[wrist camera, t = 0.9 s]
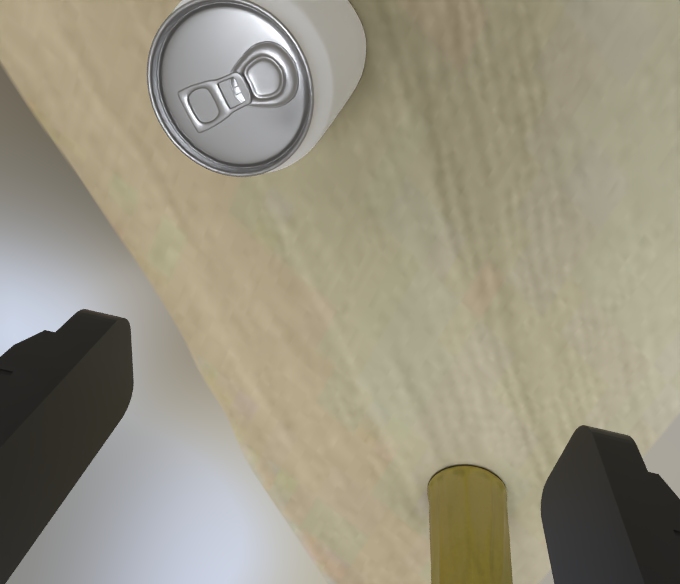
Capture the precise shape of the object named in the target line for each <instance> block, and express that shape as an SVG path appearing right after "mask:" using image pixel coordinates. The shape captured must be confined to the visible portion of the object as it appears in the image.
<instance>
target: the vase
mask: <svg viewBox="0 0 680 584" xmlns="http://www.w3.org/2000/svg"><path fill="white" fill-rule="evenodd" d="M428 498H429V506H430V509H429V523H430V552H431V584H513V582H512V566H511V553H510V537H509V526H508V513H507V492H506V488H505V486H504V484H503V482H502V481H501V480H500V479H499V478H498V477H496V476H495V475H494V474H492V473H490V472H489V471H487V470H485V469H482V468H478V467H474V466H455V467H451V468H447V469H445V470H442V471H441V472H439V473H438V474H436V475H435V476H434V477H433V478H432V479H431V481H430V483H429V485H428Z"/></svg>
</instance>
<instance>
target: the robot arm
mask: <svg viewBox="0 0 680 584" xmlns="http://www.w3.org/2000/svg"><path fill="white" fill-rule="evenodd" d="M132 392H133V364H132V347H131V329H130V324H129V322H128V320H127V319H125V318H121V317H117V316H113V315H108V314H104V313H99V312H95V311H91V310H86V309H83V310H80V311H78V312H77V313H76V314H75V315H73V316H72V317H71V318H70V319H69V320H68V321H67V322H66V323H65V324H64V325H63V326H62V327H61V328H60V329H58V330H57V331H56V332H50V331H46V330H44V331H43V332H40V333H38V334H36V335H34V336H32V337H30V338H28V339H26V340H24V341H21V342H19V343H17V344H15V345H13V346H12V347H11V348H10V349H9V350H8V351H7V352H5V353H4V354H3V355H2V356H1V357H0V584H5V583H6V582H7V580H8V579H9V577H10V576H11V574H12V573H13V572H14V570H15V569H16V567H17V566H18V565H19V563H20V562H21V560H22V559H23V558H24V556H25V555H26V553H27V552H28V551H29V549H30V548H31V546H32V545H33V544H34V542H35V541H36V539H37V538H38V536H39V535H40V534H41V532H42V531H43V529H44V528H45V526H46V525H47V523H48V522H49V521H50V519H51V518H52V517H53V515H54V514H55V512H56V511H57V509H58V508H59V507H60V505H61V504H62V502H63V501H64V500H65V498H66V497H67V495H68V494H69V492H70V491H71V490H72V488H73V487H74V485H75V484H76V483H77V481H78V479H79V478H80V477H81V475H82V474H83V472H84V471H85V470H86V468H87V467H88V465H89V464H90V463H91V461H92V460H93V458H94V457H95V456H96V454H97V453H98V451H99V450H100V449H101V447H102V446H103V444H104V443H105V441H106V440H107V439H108V437H109V436H110V434H111V433H112V432H113V430H114V428H115V427H116V426H117V424H118V423H119V422H120V420H121V419H122V417H123V416H124V414H125V412H126V410H127V408H128V405H129V403H130V400H131V396H132ZM541 518H542V523H543V528H544V533H545V538H546V543H547V548H548V554H549V559H550V564H551V569H552V574H553V578H554V584H680V499H679V498H678V497H677V495H676V494H675V493H674V492H673V491H672V490H671V488H670V487H669V486H668V485H667V484H666V483H665V482H664V480H663V479H662V478H661V477H660V476H659V474H655V473H651V472H648V471H647V469H646V466H645V464H644V461H643V459H642V457H641V454H640V452H639V450H638V448H637V445H636V443H635V441H634V440H633V439H632V438H631V437H630V436H628V435H624V434H620V433H616V432H611V431H607V430H603V429H598V428H594V427H590V426H585V425H582V426H580V427H578V428H577V429H576V430H575V432H574V433H573V435H572V437H571V439H570V440H569V442H568V444H567V446H566V447H565V449H564V451H563V453H562V455H561V456H560V458H559V460H558V462H557V463H556V465H555V467H554V469H553V470H552V472H551V474H550V476H549V477H548V479H547V481H546V483H545V486H544V489H543V493H542V499H541Z"/></svg>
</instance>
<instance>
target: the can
mask: <svg viewBox="0 0 680 584" xmlns="http://www.w3.org/2000/svg"><path fill="white" fill-rule="evenodd" d="M365 59H366V38H365V33H364V29H363V26H362V24H361V21H360V19H359V17H358V15H357V13H356V12H355V10H354V8H353V7H352V5H351V4H350V2H349V1H348V0H182V1H181V2H180V3H179V4H178V5H177V6H176V8H175V9H174V10H173V12H172V13H171V14H170V15H169V16H168V17H167V19H166V20H165V21H164V22H163V24H162V25H161V26H160V28H159V30H158V31H157V33H156V35H155V37H154V40H153V42H152V45H151V48H150V52H149V57H148V64H147V84H148V91H149V96H150V100H151V103H152V107H153V109H154V112H155V114H156V117H157V119H158V121H159V123H160V125H161V126H162V128H163V130H164V131H165V133H166V134H167V136H168V137H169V138H170V140H171V141H172V142H173V143H174V144H175V146H176V147H177V148H178V149H179V150H180V151H181V152H183V153H184V154H185V155H186V156H187V157H188V158H190V159H191V160H193V161H194V162H196V163H197V164H199V165H201V166H202V167H204V168H206V169H209V170H211V171H213V172H216V173H219V174H223V175H228V176H236V177H248V176H255V175H260V174H263V173H269V172H274V171H277V170H280V169H283V168H285V167H288V166H290V165H292V164H293V163H295V162H297V161H298V160H299V159H301V158H302V157H304V156H305V155H306V154H307V153H308V152H309V151H310V150H311V149H312V148H313V147H314V146H315V145H316V144H317V142H318V141H319V140H320V139H321V137H322V136H323V135H324V133H325V132H326V131H327V129H328V128H329V126H330V125H331V124H332V122H333V121H334V119H335V118H336V116H337V115H338V114H339V112H340V111H341V109H342V108H343V106H344V105H345V103H346V102H347V100H348V99H349V98H350V96H351V95H352V93H353V91H354V90H355V88H356V86H357V84H358V83H359V80H360V78H361V76H362V73H363V69H364V65H365Z"/></svg>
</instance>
